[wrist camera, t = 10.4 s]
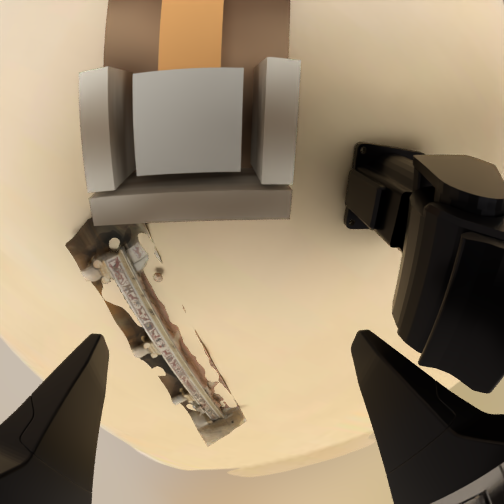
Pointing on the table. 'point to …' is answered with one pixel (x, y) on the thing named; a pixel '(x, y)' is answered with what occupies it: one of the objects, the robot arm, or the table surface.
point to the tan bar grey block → (188, 96)
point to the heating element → (152, 323)
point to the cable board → (253, 121)
